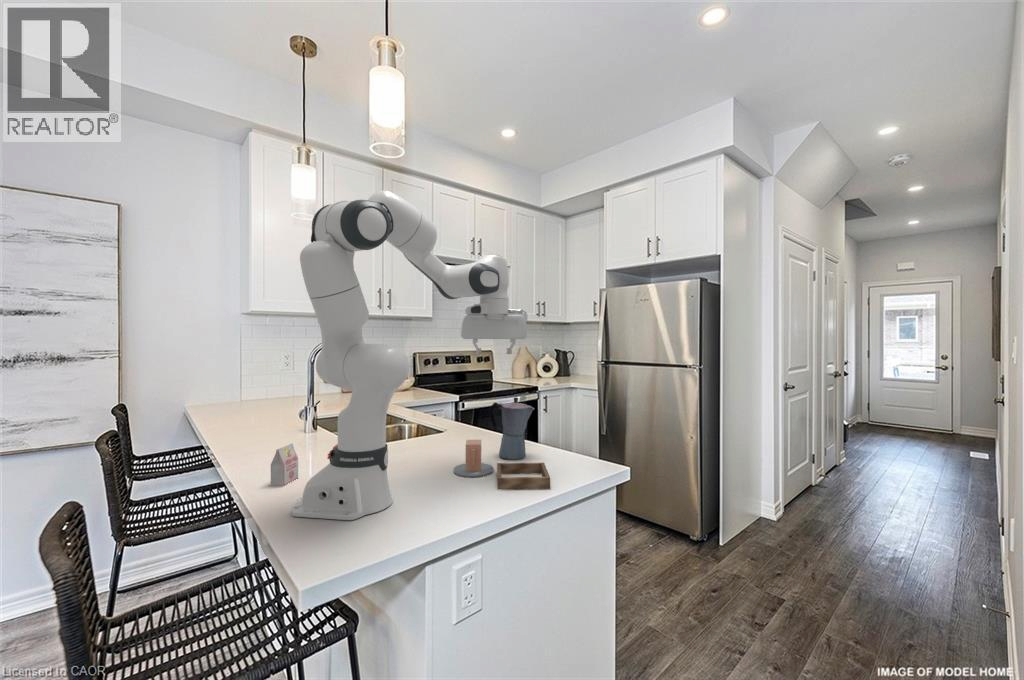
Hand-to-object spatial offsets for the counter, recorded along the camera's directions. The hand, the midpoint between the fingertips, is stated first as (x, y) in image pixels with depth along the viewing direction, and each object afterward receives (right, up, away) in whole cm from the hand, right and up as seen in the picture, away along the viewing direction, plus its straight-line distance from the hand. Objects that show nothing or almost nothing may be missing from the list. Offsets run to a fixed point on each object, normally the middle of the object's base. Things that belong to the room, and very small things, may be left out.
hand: (494, 354), depth 137 cm
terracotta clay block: (-6, -34, -3) cm, 35 cm away
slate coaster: (-6, -35, -3) cm, 36 cm away
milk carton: (-58, -35, -13) cm, 69 cm away
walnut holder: (+8, -35, -11) cm, 38 cm away
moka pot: (+5, -35, +13) cm, 38 cm away
